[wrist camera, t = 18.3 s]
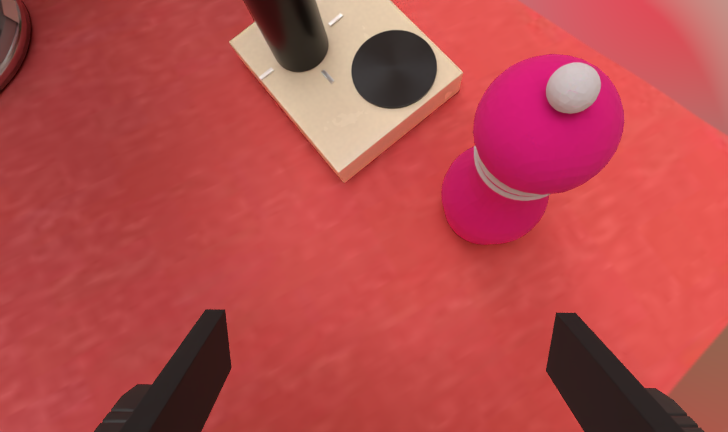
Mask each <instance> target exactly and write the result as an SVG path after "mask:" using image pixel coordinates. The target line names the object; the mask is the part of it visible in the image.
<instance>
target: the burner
mask: <svg viewBox="0 0 728 432" xmlns="http://www.w3.org/2000/svg"><path fill="white" fill-rule="evenodd" d="M436 73H437V61H436V57H435V54H434V51H433V49H432V48H431V46H430V45H429V44H428V43H427V42H426V41H425V40H424V39H423V38H421V37H420V36H418V35H416V34H414V33H412V32H409V31H404V30H389V31H384V32H381V33H378V34H376V35H374V36H372V37H371V38H369V39H368V40H366V41H365V42H364V43H363V44H362V45H361V46H360V48H359V49H358V51H357V52H356V54H355V56H354V59H353V62H352V68H351V74H352V80H353V83H354V86H355V88H356V90H357V91H358V93H359V94H360V95H361V96H362V97H363V98H364V99H365V100H366V101H368V102H369V103H371V104H373V105H375V106H378V107H382V108H388V109H396V108H403V107H406V106H409V105H412V104H414V103H415V102H417V101H419V100H420V99H421V98H423V97H424V96H425V95H426V94H427V93H428V91H429V90H430V89H431V87H432V85H433V83H434V81H435V78H436Z"/></svg>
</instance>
